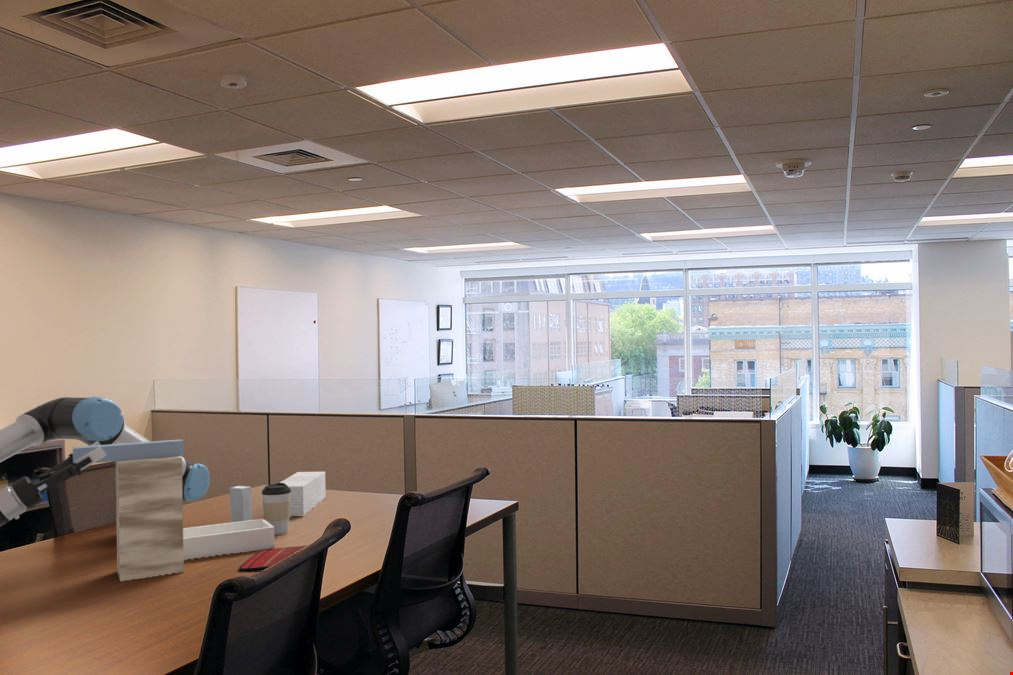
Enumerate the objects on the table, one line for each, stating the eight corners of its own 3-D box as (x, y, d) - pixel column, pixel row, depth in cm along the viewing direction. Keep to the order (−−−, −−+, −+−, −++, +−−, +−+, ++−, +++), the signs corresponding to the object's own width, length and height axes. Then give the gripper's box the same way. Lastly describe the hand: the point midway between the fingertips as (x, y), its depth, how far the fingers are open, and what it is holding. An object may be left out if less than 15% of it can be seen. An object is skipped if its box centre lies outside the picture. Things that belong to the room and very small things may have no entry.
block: (72, 462, 205) (72, 447, 205) (181, 454, 217) (181, 439, 217) (73, 464, 201) (72, 448, 201) (184, 455, 214) (183, 440, 214)
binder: (317, 543, 230) (296, 564, 209) (317, 551, 230) (297, 572, 209) (261, 547, 230) (235, 567, 209) (262, 555, 230) (236, 576, 209)
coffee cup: (283, 535, 249) (282, 487, 249) (256, 534, 251) (255, 486, 251) (296, 529, 258) (296, 482, 258) (270, 528, 259) (270, 481, 260)
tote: (146, 553, 230) (146, 532, 230) (263, 538, 246) (263, 518, 246) (151, 565, 218) (151, 542, 218) (274, 547, 234) (274, 527, 234)
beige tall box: (117, 571, 212) (115, 457, 213) (178, 562, 220) (176, 453, 220) (120, 581, 203) (118, 462, 203) (183, 572, 210) (181, 457, 210)
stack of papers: (298, 499, 309) (297, 471, 309) (325, 499, 308) (325, 471, 309) (272, 518, 277) (272, 486, 277) (303, 517, 276) (303, 486, 277)
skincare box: (253, 522, 269) (252, 486, 269) (243, 525, 265) (242, 488, 265) (239, 521, 272) (239, 485, 272) (229, 523, 268) (229, 487, 268)
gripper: (29, 501, 209) (107, 454, 218) (26, 518, 187) (113, 465, 196) (12, 477, 207) (91, 431, 216) (7, 492, 185) (95, 440, 194)
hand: (102, 447), depth 206 cm, fingers open, 13 cm apart
